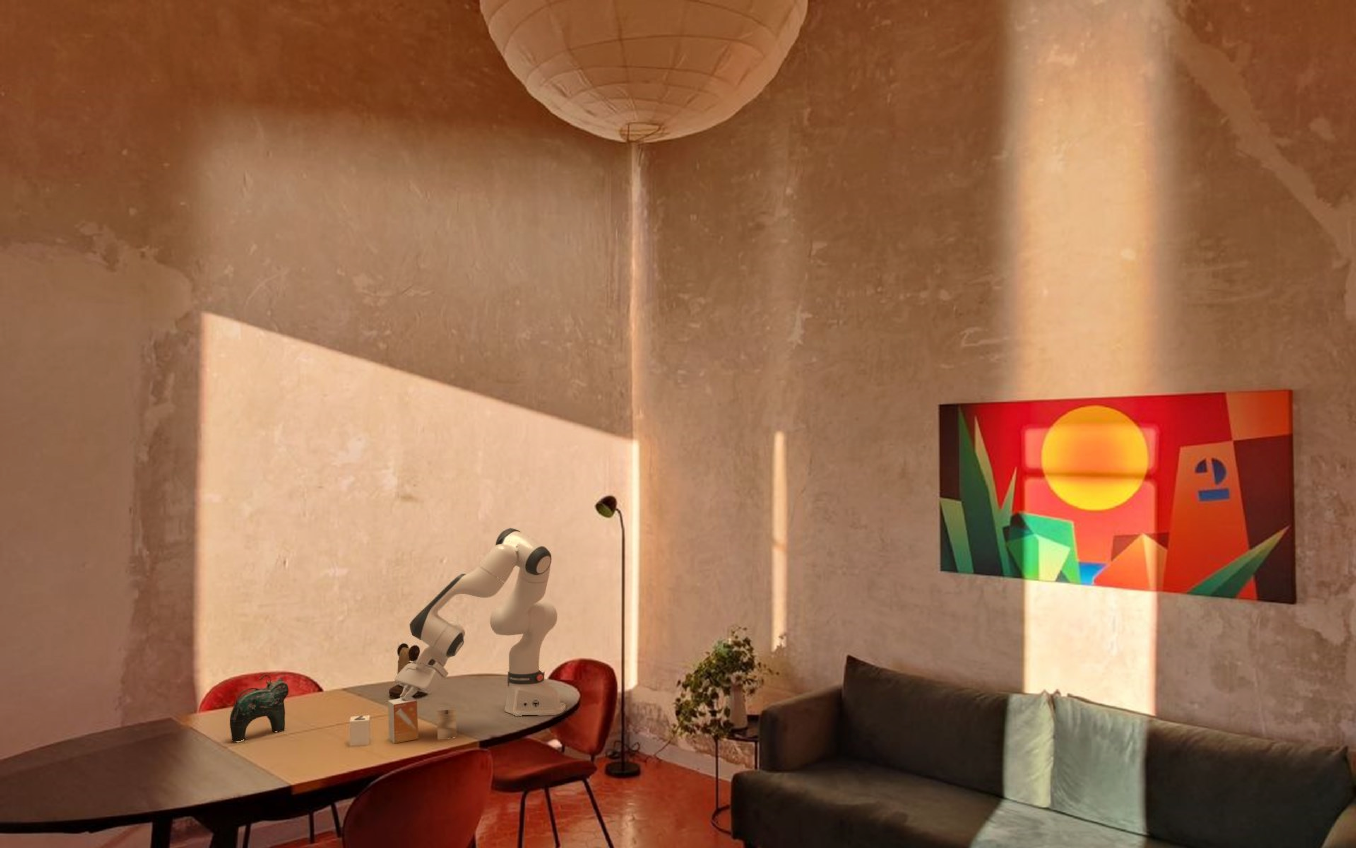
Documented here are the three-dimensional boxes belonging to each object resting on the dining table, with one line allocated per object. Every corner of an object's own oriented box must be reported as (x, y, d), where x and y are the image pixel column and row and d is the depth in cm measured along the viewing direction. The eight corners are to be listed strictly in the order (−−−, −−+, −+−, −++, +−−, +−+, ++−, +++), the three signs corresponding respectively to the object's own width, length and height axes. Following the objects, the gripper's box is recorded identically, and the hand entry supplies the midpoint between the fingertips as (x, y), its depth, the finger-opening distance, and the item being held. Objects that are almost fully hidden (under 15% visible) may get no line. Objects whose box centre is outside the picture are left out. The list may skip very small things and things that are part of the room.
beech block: (455, 733, 328) (455, 708, 329) (456, 738, 323) (456, 713, 323) (437, 734, 327) (437, 709, 327) (437, 739, 321) (437, 714, 321)
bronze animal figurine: (281, 727, 336) (282, 669, 336) (292, 730, 332) (292, 672, 333) (226, 741, 320) (227, 681, 320) (237, 745, 316) (238, 683, 316)
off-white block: (369, 739, 321) (369, 714, 322) (369, 744, 316) (369, 719, 316) (350, 741, 320) (350, 715, 320) (349, 746, 314) (349, 720, 314)
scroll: (381, 696, 377) (381, 645, 378) (411, 689, 389) (411, 639, 390) (405, 702, 369) (406, 649, 369) (435, 694, 381) (436, 643, 382)
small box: (394, 744, 316) (393, 704, 316) (388, 739, 322) (387, 700, 322) (418, 739, 321) (417, 700, 321) (412, 734, 326) (411, 695, 326)
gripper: (406, 655, 334) (381, 688, 327) (440, 663, 320) (413, 698, 313) (418, 666, 337) (392, 699, 330) (451, 674, 323) (425, 709, 316)
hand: (403, 699), depth 321 cm, fingers closed, pressing on small box
